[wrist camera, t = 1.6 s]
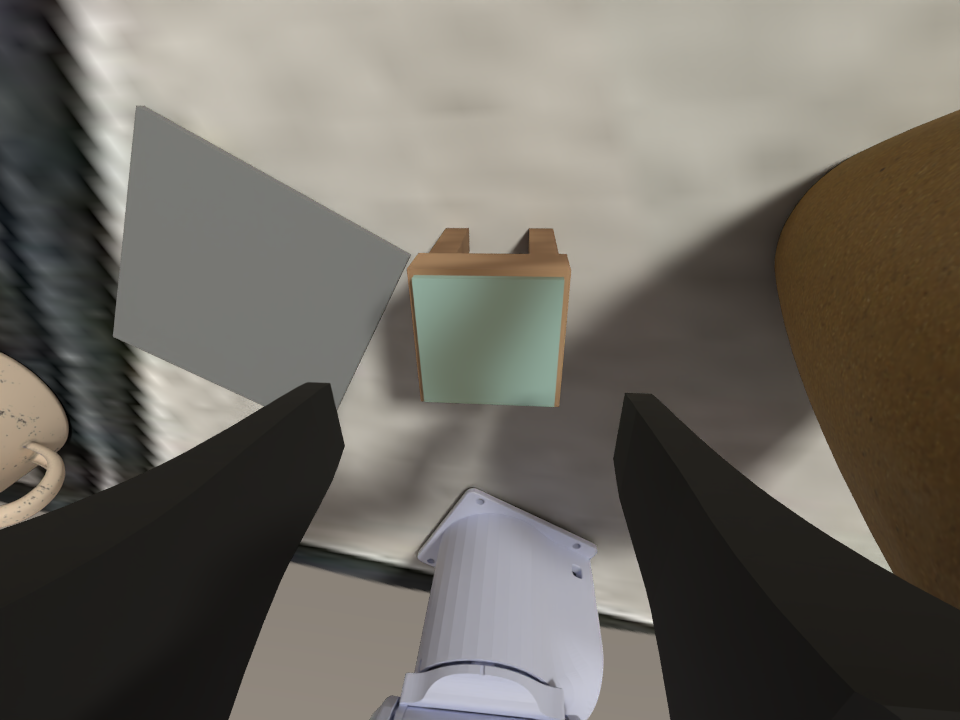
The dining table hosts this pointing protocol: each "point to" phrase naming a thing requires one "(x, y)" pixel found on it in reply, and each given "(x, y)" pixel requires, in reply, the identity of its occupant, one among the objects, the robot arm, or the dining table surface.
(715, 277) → the dining table surface
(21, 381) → the teacup with lid
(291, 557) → the robot arm
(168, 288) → the mat
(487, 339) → the stool
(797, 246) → the plant pot
